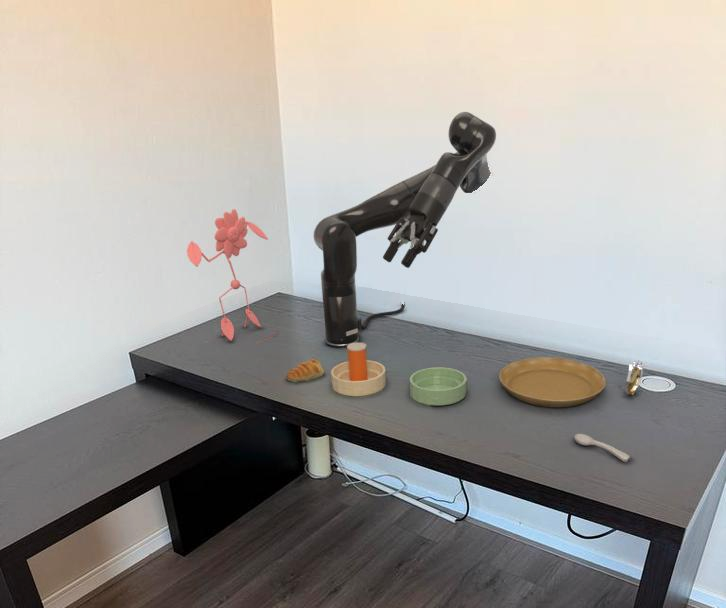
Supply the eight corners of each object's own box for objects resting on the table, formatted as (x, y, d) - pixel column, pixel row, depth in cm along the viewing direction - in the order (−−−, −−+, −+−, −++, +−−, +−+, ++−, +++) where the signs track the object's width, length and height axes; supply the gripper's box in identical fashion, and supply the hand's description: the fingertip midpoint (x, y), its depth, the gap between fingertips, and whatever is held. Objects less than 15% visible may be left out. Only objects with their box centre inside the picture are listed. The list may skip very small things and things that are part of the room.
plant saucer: (622, 385, 161) (624, 372, 159) (571, 423, 147) (573, 409, 145) (532, 361, 176) (533, 349, 174) (478, 394, 161) (479, 381, 159)
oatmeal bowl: (343, 373, 176) (342, 357, 173) (392, 378, 171) (392, 362, 169) (324, 394, 165) (322, 378, 163) (375, 400, 161) (374, 384, 159)
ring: (631, 401, 154) (637, 368, 150) (617, 397, 156) (623, 365, 152) (644, 390, 158) (650, 358, 154) (631, 387, 160) (637, 355, 156)
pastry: (296, 387, 170) (294, 372, 168) (281, 379, 174) (279, 365, 172) (326, 376, 174) (325, 362, 172) (311, 368, 179) (310, 355, 177)
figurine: (198, 344, 198) (173, 218, 179) (262, 318, 214) (246, 200, 195) (233, 355, 189) (211, 224, 170) (297, 327, 205) (284, 204, 186)
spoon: (578, 437, 142) (580, 428, 140) (630, 461, 134) (632, 452, 133) (570, 442, 140) (572, 434, 139) (622, 467, 133) (624, 458, 132)
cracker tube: (353, 379, 171) (351, 341, 165) (370, 381, 169) (368, 343, 164) (346, 387, 167) (344, 348, 162) (364, 389, 166) (362, 350, 160)
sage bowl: (418, 380, 169) (418, 364, 167) (471, 386, 165) (471, 370, 163) (403, 403, 159) (402, 387, 157) (458, 410, 155) (459, 393, 153)
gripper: (460, 212, 152) (422, 277, 154) (427, 207, 163) (391, 267, 166) (439, 192, 148) (399, 258, 150) (405, 188, 159) (369, 249, 161)
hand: (395, 263), depth 158 cm, fingers open, 8 cm apart
